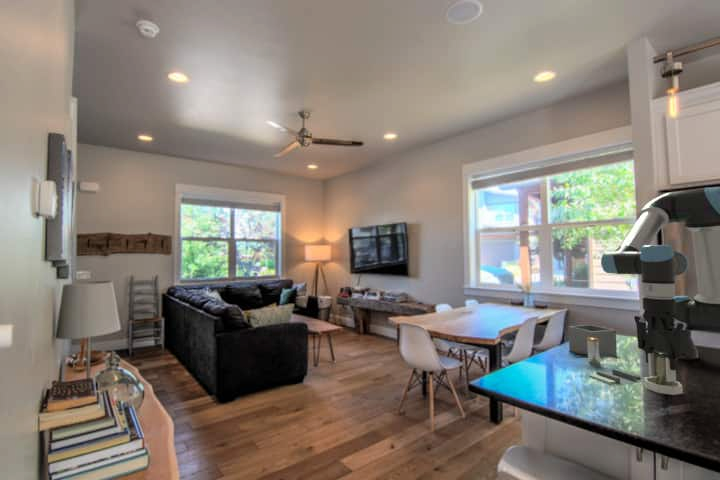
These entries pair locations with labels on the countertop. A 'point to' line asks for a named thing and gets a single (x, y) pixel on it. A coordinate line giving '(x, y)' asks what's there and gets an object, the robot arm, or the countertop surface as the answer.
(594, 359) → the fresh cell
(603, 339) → the phone caddy
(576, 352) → the smartphone
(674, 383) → the white octagonal bowl
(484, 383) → the countertop surface
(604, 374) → the cradle
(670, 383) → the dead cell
